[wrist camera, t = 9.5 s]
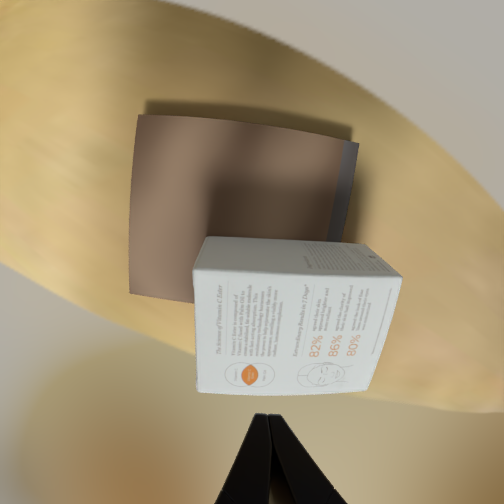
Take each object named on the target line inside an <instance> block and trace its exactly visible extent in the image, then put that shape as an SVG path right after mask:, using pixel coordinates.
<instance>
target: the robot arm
mask: <svg viewBox="0 0 504 504" xmlns="http://www.w3.org/2000/svg"><path fill="white" fill-rule="evenodd" d="M214 504H347V503H346V502H345V500H344V499H343V498H342V497H341V495H340V494H339V493H338V492H337V490H336V489H334V487H333V485H332V484H331V483H330V481H329V480H328V479H327V478H326V476H325V475H324V474H323V472H322V471H321V470H320V468H319V467H318V466H317V464H316V463H315V462H314V460H313V459H312V458H311V456H310V455H309V454H308V452H307V451H306V449H305V448H304V447H303V445H302V444H301V443H300V441H299V440H298V438H297V437H296V436H295V434H294V433H293V431H292V430H291V429H290V427H289V426H288V424H287V423H286V422H285V420H284V418H283V417H282V416H281V415H280V414H268V415H267V414H263V413H255V415H254V417H253V419H252V421H251V424H250V426H249V429H248V431H247V433H246V436H245V438H244V440H243V443H242V445H241V447H240V450H239V452H238V454H237V456H236V459H235V461H234V464H233V465H232V468H231V470H230V472H229V474H228V476H227V479H226V481H225V483H224V485H223V488H222V490H221V491H220V493H219V495H218V498H217V500H216V502H215V503H214Z"/></svg>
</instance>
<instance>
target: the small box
mask: <svg viewBox="0 0 504 504" xmlns="http://www.w3.org/2000/svg"><path fill="white" fill-rule="evenodd" d="M192 274H193V287H194V302H195V346H196V389H197V391H198V392H202V393H217V394H233V395H313V394H333V393H346V392H357V391H366V390H367V389H368V386H369V384H370V381H371V379H372V376H373V373H374V371H375V368H376V365H377V362H378V360H379V357H380V354H381V351H382V348H383V345H384V342H385V339H386V336H387V333H388V330H389V326H390V323H391V320H392V316H393V313H394V310H395V306H396V302H397V299H398V295H399V291H400V287H401V283H402V279H403V277H402V276H401V275H400V274H399V273H398V272H397V271H395V270H394V269H393V268H392V267H391V266H390V265H389V264H388V263H386V262H385V261H384V260H383V259H382V258H381V257H379V256H378V255H377V254H376V253H375V252H374V251H372V250H371V249H370V248H369V247H368V246H367V245H365V244H354V243H339V242H321V241H302V240H284V239H262V238H244V237H220V236H208V237H206V238H205V240H204V243H203V245H202V247H201V250H200V252H199V255H198V257H197V259H196V262H195V264H194V267H193V271H192Z"/></svg>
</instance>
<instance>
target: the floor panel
mask: <svg viewBox="0 0 504 504" xmlns="http://www.w3.org/2000/svg"><path fill="white" fill-rule="evenodd" d="M358 148H359V143H355V142H351V141H347V140H343V139H338V138H334V137H329V136H324V135H320V134H315V133H310V132H304V131H299V130H293V129H288V128H282V127H275V126H269V125H262V124H255V123H248V122H240V121H231V120H222V119H212V118H200V117H186V116H169V115H138V120H137V128H136V136H135V145H134V155H133V166H132V179H131V195H130V216H129V290H130V294H136V295H142V296H148V297H154V298H160V299H167V300H173V301H180V302H187V303H194V304H195V302H194V287H193V274H192V271H193V267H194V264H195V262H196V259H197V257H198V255H199V252H200V250H201V247H202V245H203V243H204V240H205V238H206V237H208V236H220V237H244V238H262V239H284V240H302V241H321V242H339V243H341V238H342V234H343V229H344V224H345V220H346V215H347V210H348V205H349V200H350V195H351V189H352V184H353V178H354V173H355V167H356V161H357V155H358Z"/></svg>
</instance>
